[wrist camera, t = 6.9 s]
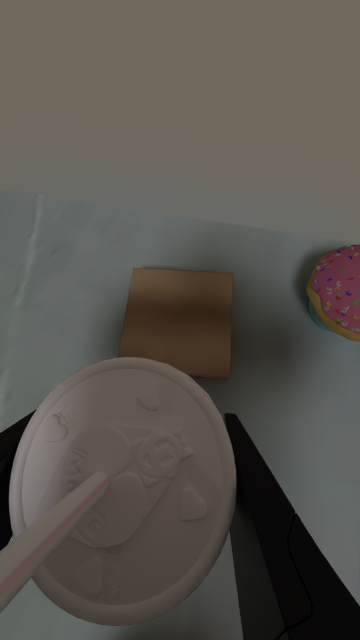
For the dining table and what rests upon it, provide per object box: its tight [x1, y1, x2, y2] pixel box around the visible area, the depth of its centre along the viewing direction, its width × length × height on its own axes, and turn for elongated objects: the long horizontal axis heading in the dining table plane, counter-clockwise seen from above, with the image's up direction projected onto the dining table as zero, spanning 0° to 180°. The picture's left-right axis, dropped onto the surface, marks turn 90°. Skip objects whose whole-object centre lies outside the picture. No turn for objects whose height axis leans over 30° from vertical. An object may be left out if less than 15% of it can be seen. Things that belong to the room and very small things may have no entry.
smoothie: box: [0, 357, 236, 626], centre depth 9 cm, size 6×6×14 cm
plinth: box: [118, 268, 233, 379], centre depth 22 cm, size 10×10×2 cm
